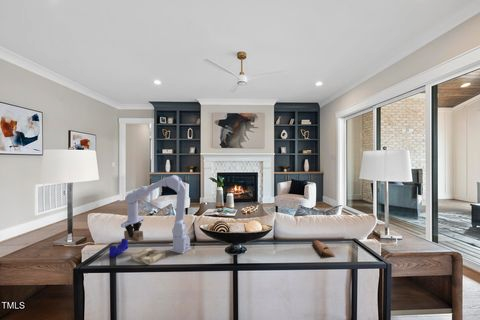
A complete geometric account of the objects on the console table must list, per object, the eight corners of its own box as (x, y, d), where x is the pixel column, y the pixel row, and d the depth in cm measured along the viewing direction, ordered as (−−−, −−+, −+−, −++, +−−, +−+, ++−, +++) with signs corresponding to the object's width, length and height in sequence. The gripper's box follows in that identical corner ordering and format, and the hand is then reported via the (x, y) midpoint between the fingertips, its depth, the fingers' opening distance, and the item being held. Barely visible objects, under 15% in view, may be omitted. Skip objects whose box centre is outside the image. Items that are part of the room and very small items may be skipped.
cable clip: (121, 248, 146) (120, 238, 146) (127, 248, 146) (127, 238, 145) (107, 256, 135) (107, 246, 134) (114, 257, 134) (114, 246, 134)
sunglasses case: (336, 257, 133) (330, 246, 132) (325, 263, 133) (319, 253, 133) (325, 244, 151) (320, 235, 150) (315, 250, 151) (310, 241, 151)
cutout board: (165, 256, 134) (165, 252, 134) (150, 265, 125) (150, 260, 124) (147, 251, 141) (147, 247, 140) (131, 259, 131) (131, 255, 131)
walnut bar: (143, 239, 140) (142, 231, 140) (139, 241, 137) (138, 232, 137) (129, 238, 145) (128, 229, 145) (124, 239, 143) (124, 231, 143)
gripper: (138, 209, 149) (138, 231, 150) (117, 215, 136) (117, 239, 137) (146, 210, 146) (147, 233, 147) (125, 217, 133) (126, 241, 134)
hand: (133, 236), depth 141 cm, fingers closed on walnut bar, 3 cm apart
